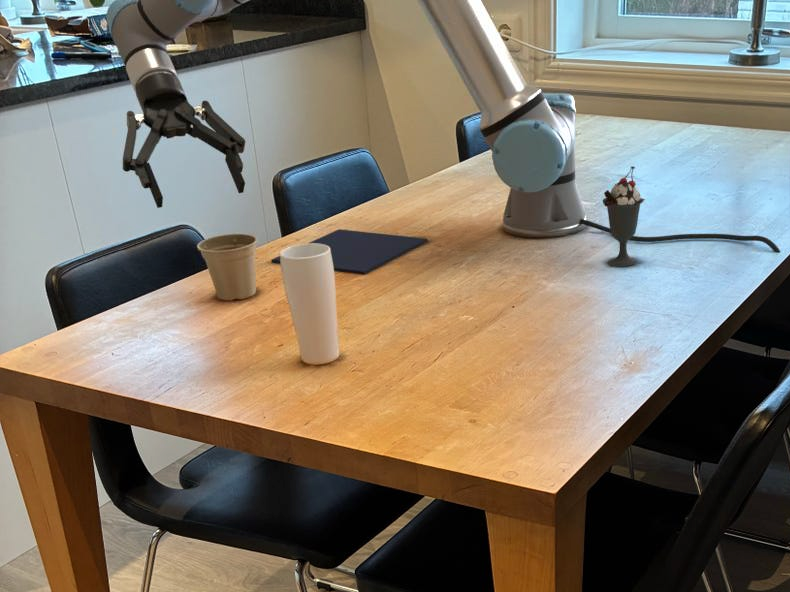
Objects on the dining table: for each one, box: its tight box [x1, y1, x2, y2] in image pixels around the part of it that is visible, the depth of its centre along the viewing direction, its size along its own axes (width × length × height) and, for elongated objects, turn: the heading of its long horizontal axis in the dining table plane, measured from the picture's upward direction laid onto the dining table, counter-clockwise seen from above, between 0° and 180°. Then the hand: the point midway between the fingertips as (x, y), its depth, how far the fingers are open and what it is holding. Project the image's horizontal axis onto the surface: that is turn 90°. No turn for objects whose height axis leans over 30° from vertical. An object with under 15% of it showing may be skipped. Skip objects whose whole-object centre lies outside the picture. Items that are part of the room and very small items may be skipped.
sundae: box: [602, 166, 645, 268], centre depth 167 cm, size 7×7×15 cm
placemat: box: [270, 229, 429, 275], centre depth 185 cm, size 20×20×1 cm
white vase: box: [278, 242, 341, 366], centre depth 138 cm, size 7×7×15 cm
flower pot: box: [196, 233, 259, 301], centre depth 166 cm, size 9×9×9 cm
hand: (201, 195), depth 168 cm, fingers open, 13 cm apart
